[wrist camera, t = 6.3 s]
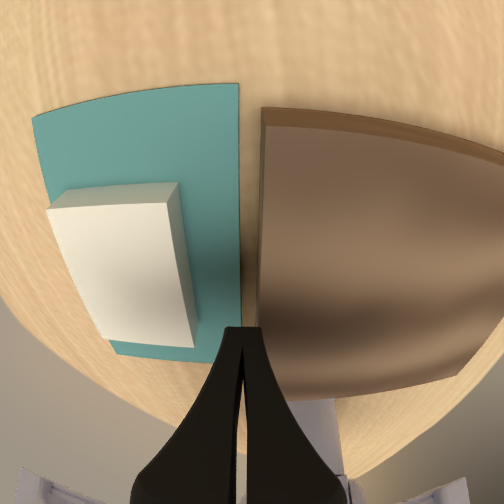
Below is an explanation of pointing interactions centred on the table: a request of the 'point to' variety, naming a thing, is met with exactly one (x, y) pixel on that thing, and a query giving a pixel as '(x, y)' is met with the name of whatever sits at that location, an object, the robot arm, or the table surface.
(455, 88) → the table surface
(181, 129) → the mat
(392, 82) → the table surface
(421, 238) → the stand
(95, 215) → the tile
